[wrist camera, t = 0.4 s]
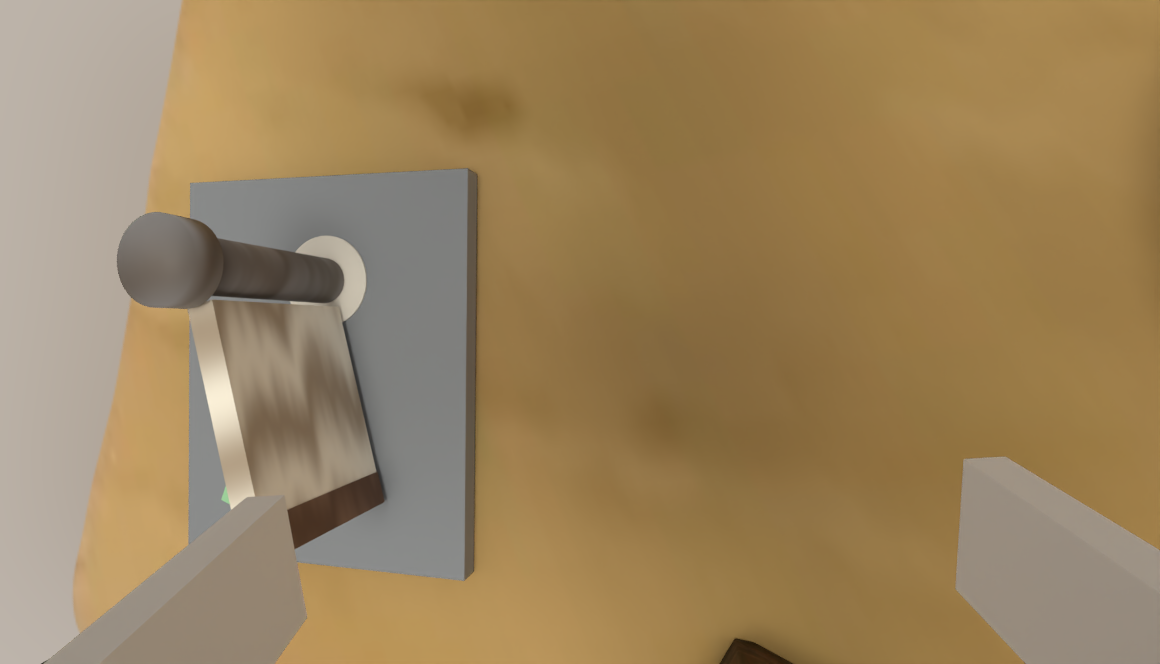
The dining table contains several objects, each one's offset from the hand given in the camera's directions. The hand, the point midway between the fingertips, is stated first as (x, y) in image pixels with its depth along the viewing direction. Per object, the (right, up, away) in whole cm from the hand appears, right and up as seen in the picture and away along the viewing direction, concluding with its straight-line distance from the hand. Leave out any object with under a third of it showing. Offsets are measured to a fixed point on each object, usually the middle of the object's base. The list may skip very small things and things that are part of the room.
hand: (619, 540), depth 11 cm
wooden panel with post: (-16, +1, +27) cm, 32 cm away
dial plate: (-18, +1, +29) cm, 34 cm away
